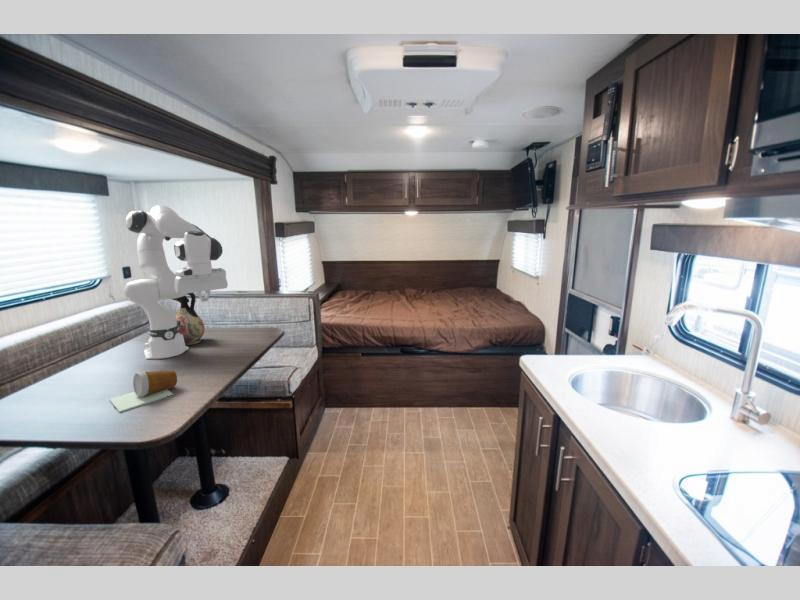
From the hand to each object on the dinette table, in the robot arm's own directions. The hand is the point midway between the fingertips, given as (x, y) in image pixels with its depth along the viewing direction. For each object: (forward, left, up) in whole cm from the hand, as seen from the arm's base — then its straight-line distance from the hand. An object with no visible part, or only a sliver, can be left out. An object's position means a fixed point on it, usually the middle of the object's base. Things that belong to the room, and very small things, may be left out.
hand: (204, 301), depth 146 cm
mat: (+8, -29, -31) cm, 43 cm away
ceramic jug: (-47, +8, -31) cm, 57 cm away
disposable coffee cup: (+7, -17, -28) cm, 33 cm away
